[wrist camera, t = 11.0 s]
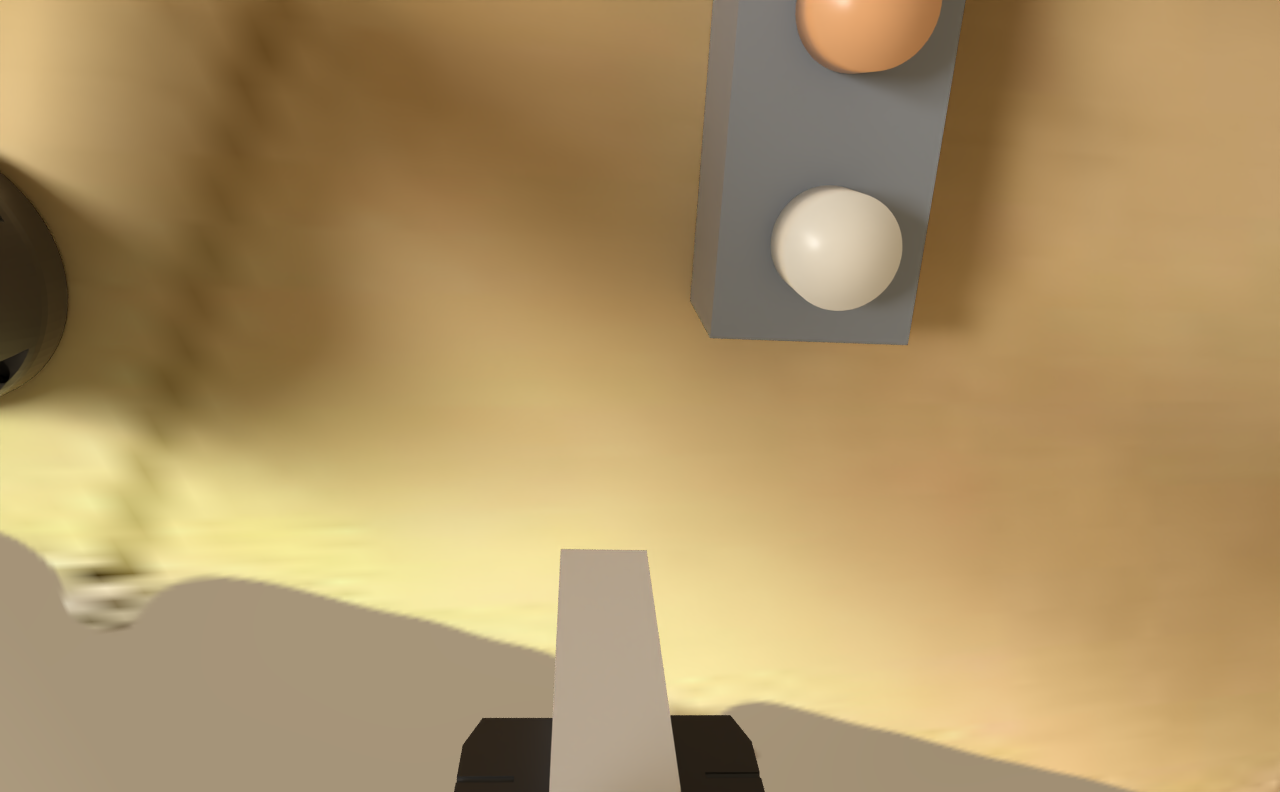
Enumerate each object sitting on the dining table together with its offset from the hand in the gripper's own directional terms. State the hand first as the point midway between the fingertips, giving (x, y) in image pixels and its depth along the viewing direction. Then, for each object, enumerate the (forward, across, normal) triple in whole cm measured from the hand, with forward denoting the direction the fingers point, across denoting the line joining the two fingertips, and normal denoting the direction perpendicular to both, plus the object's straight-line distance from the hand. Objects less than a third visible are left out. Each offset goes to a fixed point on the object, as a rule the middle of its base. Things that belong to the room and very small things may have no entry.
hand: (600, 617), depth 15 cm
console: (+34, +11, +8) cm, 37 cm away
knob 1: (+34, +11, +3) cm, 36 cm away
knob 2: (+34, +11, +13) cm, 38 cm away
